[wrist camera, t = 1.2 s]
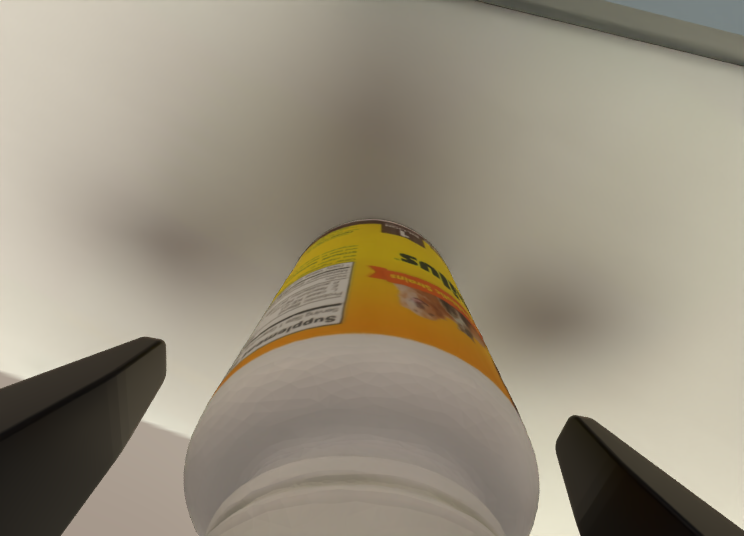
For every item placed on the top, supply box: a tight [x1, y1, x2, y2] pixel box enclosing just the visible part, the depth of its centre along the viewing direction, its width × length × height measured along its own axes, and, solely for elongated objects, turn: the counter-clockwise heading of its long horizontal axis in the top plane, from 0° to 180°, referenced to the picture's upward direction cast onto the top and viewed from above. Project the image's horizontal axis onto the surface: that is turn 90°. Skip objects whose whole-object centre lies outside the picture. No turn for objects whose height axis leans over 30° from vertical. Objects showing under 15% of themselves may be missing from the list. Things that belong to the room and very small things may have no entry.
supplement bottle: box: [184, 219, 539, 536], centre depth 8 cm, size 6×6×10 cm
